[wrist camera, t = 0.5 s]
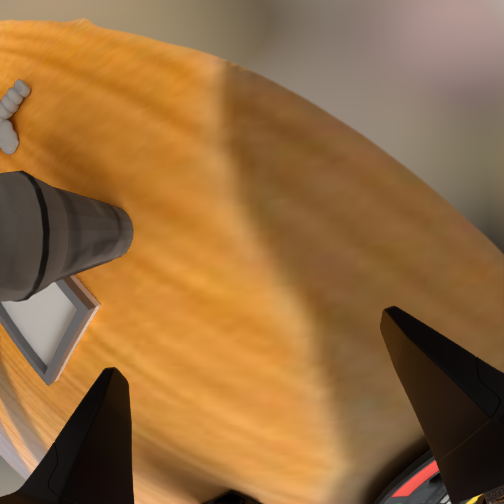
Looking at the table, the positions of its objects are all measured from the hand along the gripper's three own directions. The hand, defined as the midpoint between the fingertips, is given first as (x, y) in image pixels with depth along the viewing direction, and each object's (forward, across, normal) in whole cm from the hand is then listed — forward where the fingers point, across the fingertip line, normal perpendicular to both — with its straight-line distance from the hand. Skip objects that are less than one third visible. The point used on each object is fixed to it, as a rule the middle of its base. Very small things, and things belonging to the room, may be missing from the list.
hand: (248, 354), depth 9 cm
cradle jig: (+15, +22, +6) cm, 28 cm away
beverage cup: (+16, +10, +2) cm, 20 cm away
